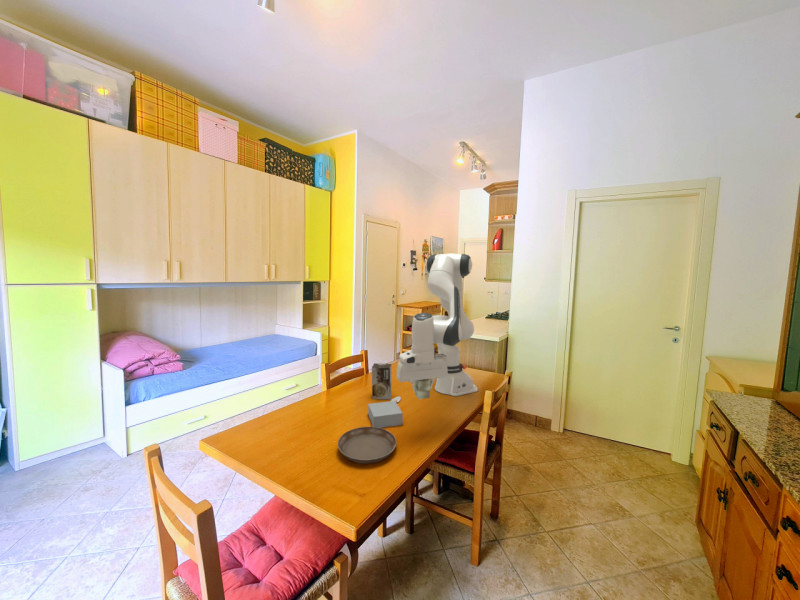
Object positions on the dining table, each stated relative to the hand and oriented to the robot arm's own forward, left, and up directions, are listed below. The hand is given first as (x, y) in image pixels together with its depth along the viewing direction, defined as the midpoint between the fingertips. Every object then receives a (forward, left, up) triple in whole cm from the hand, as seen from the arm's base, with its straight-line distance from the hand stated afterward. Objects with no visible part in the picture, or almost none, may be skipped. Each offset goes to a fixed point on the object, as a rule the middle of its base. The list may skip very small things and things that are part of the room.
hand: (422, 389), depth 122 cm
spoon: (+8, -24, -17) cm, 31 cm away
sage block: (0, 0, -3) cm, 3 cm away
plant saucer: (+23, +7, -17) cm, 30 cm away
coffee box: (+8, -35, -17) cm, 40 cm away
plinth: (+12, -12, -17) cm, 24 cm away
